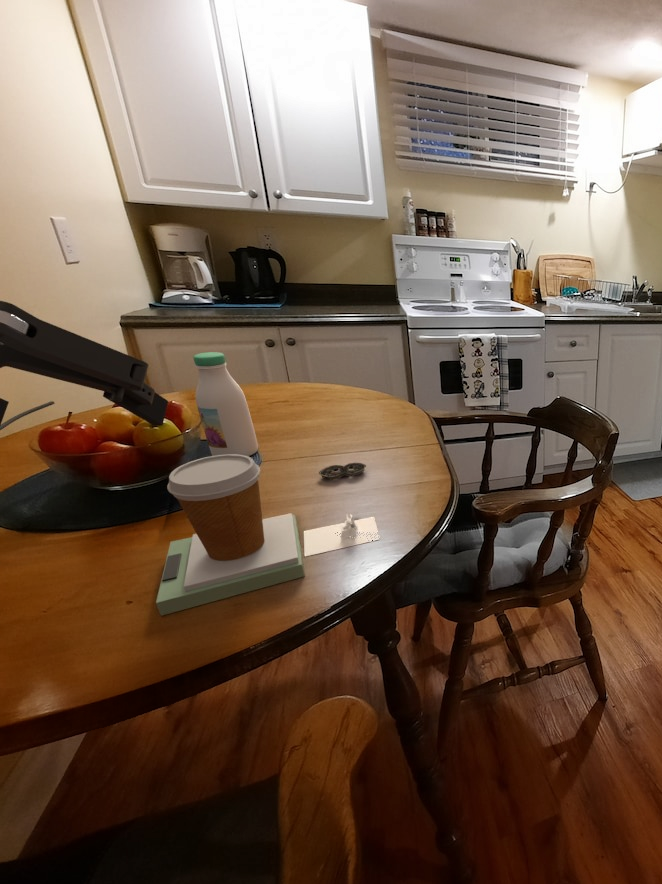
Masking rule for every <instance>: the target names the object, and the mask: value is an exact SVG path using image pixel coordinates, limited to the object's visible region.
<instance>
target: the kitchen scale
mask: <svg viewBox="0 0 662 884" xmlns="http://www.w3.org/2000/svg"><path fill="white" fill-rule="evenodd" d="M262 522H263V531H264V540H265V541H264V544H263V545H262V546H261V547H260V548H259V549H258V550H257V551H255V552H253V553H252V554H250V555H247V556H245V557H242V558H239V559H235V560H228V561H218V560H213V559H211V558H210V557H209V555H208V553H207V551H206V550H205V548H204V546H203V544H202V542H201V541H200V539H199V537H198V535H197V533H193V534H192V536H191V537H186V538H181V539H177V540H173V541H170V542H169V546H168V550H167V555H166V558H165V563H164V567H163V571H162V577H161V579H160V584H159V588H158V592H157V596H156V600H155V605H156V607H157V610H158V612H159V614H160V616H161V617H162V616H165V615H169V614H173V613H177V612H180V611H184V610H187V609H192V608H195V607H198V606H203V605H206V604H209V603H213V602H216V601H221V600H224V599H227V598H230V597H231V598H232V597H235V596H238V595H242V594H246V593H249V592H253V591H257V590H260V589H263V588H267V587H271V586H275V585H278V584H282V583H285V582H290V581H292V580H296V579H300V578H304V577H305V576H306V575H305V567H304V561H303V554H302V548H301V546H302V545H301V541H300V535H299V534H300V533H299V526H298V522H297V518H296V514H293V513H292V512H290V513H285V514H280V515H277V516H272V517H267V518H262Z"/></svg>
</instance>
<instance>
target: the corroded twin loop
mask: <svg viewBox="0 0 662 884" xmlns="http://www.w3.org/2000/svg"><path fill="white" fill-rule="evenodd" d="M366 467H367V465H366V464H364V463H361V462H349V463H347V464H345V465H341V464H333V465H329V466H327V467H324V468H322V469H320V470H319V471H318V475H320V476H321V478H323V479H326V480H327V479H328V480H331V481H333V480H337V479H340V478H342V477H344V476H346V477H355V476H358V475H360V474H362V473H363V472H364V471H365V468H366Z"/></svg>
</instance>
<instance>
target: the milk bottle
mask: <svg viewBox="0 0 662 884" xmlns="http://www.w3.org/2000/svg"><path fill="white" fill-rule="evenodd" d="M192 359H193V362H194V365H195V368H196V369H197V370H198V381H197V386H196V389H195V404H196V407H197V411H198V414H199V418H200V422H201V425H202V429H203V432H204V435H205V437H206V441H207V444H208V445H207V446H208V448H209V452H210V454H211V456H216V455H224V454H239V455H245V456H248V457H250V456H252V455H254V454H256V453H257V452H258V450H259V442H258V439H257V436H256V432H255V427H254V424H253V420H252V417H251V413H250V409H249V405H248V402H247V399H246V396H245V393H244V391H243V389H242V388H241V386H240V385H239V384H238V382H236V380H235V379H234V378H233V376H232V375H231V374H230V372H229V371H228V369H227V365H228V363H227V360H226V357H225V354H224V353H223V352H219V351H210V352H209V351H207V352H200V353H197V354H195V355H193V358H192Z"/></svg>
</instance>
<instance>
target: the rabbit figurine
mask: <svg viewBox="0 0 662 884" xmlns="http://www.w3.org/2000/svg"><path fill="white" fill-rule="evenodd" d="M349 516H350V517H349ZM345 519H346V520H344V522H343V523H344V525H342V526H341V527H340V533H341V534H340V536H341V537H340V539H341V540H342V539H345V538H348V537H349V536H351V538H352V537H353V538H354V537H356V533H357V532H358V531H359V527H358V525H357V523H356V522H355V519H354V516H353V514H351V513H349V514H348V513H345Z"/></svg>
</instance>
